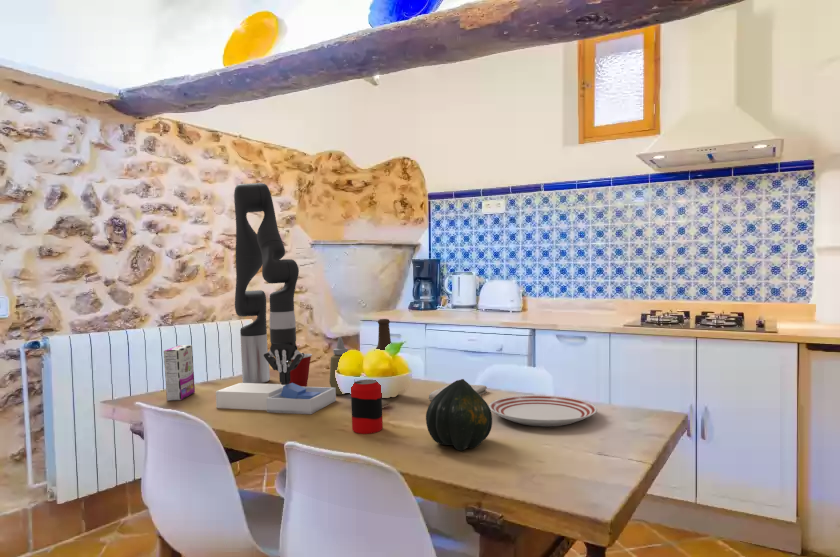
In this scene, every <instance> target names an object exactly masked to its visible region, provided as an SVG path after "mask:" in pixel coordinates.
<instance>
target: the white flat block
mask: <svg viewBox="0 0 840 557" xmlns="http://www.w3.org/2000/svg"><path fill="white" fill-rule="evenodd" d="M287 385H288V384H287ZM283 386H285V385H281V383H243V382H238V383H235V384H233V385H230V386H227V387H223V388H221V389H219V390H216V391H215V406H216V407H215V408H216V409H232V410H249V411H250V410H253V411H267V399H266V398H268V397H271V396H273V395H275V394H278V393H280V392H282V390H283Z"/></svg>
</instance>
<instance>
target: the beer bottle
mask: <svg viewBox="0 0 840 557" xmlns="http://www.w3.org/2000/svg"><path fill="white" fill-rule="evenodd" d="M390 323H391V322H390V319H388V318H379V319H378V320H377V324H378V337H377V338H378V339H377V346H376V348H375V349H380V350H385V347H386V346H387V345H388V344H390V343H391V344H392V341H391V333H390V331H391V330H390Z"/></svg>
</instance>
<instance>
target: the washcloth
mask: <svg viewBox="0 0 840 557" xmlns="http://www.w3.org/2000/svg"><path fill="white" fill-rule="evenodd" d="M449 385H450V384H446V385H444V386H442V387H439V388H437V389H436V390H433V391H431V392H429V393H430V394H429V395H428V400H429V401H430V402H431V401H432V400H433V398H434V397H435V396H436V395H437V394H438V393H439V392H440V391H442V390H443V389H444V388H446V387H447V386H449ZM469 385H470V386H471V387H472V388H473V389H474V390H475V391H476V392H477V393H478V394H479V395H480V396H482V395H484V394H486V393H487V392H488V391H487V389H488V386H487V385H482V384H469Z"/></svg>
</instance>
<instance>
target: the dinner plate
mask: <svg viewBox="0 0 840 557" xmlns="http://www.w3.org/2000/svg"><path fill="white" fill-rule="evenodd" d="M488 406H489V408H490V410H491V413H494V415H495V414H496V415H497V416H498V417H501V418H503V419H506V420H508V421H511V422H513V423H514V424H515V423H516V424H519V425H525V426H529V427H530V426H532V427H560V426H567V425H571V424H573V423H577V422H579V421H582V420H584V419H588V418H590V417H592V416H593V415H595V414H596V413H597V412H598V408H597V406H595V405H594V404H592V403H591V402H588V401H586V400H581V399H577V398H573V397H566V396H559V395H558V396H556V395H545V394H544V395H543V394H542V395H541V394H540V395H538V394H535V395H534V394H529V395H528V394H527V395H525V394H524V395H514V396H508V397H503V398H502V397H501V398H498V399H496V400H493V401H491V402H490V403H489V404H488Z"/></svg>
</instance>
